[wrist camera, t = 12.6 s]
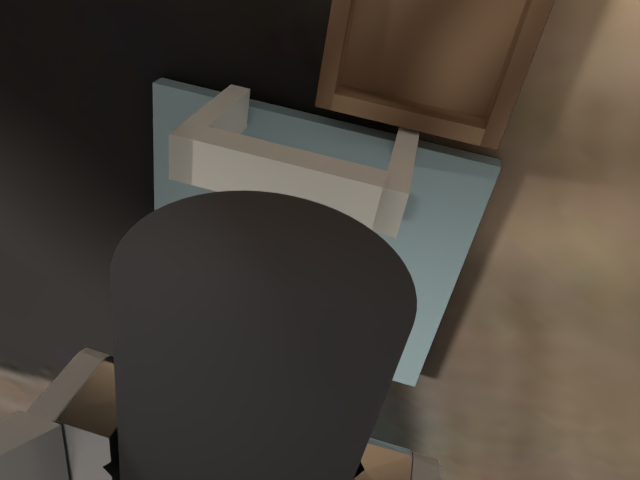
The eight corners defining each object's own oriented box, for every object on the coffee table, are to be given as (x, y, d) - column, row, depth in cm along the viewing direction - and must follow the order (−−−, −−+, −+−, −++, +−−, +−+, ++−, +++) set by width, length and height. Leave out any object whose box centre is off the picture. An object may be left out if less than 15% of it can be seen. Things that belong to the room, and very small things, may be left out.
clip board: (162, 303, 37) (141, 332, 35) (161, 77, 28) (132, 94, 26) (415, 375, 35) (412, 410, 33) (500, 159, 26) (504, 185, 24)
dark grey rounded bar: (177, 471, 14) (87, 646, 11) (193, 167, 9) (32, 322, 6) (323, 520, 14) (277, 717, 10) (426, 233, 9) (402, 439, 5)
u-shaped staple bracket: (228, 122, 27) (168, 179, 22) (230, 84, 26) (168, 133, 21) (409, 166, 26) (396, 238, 21) (420, 129, 25) (409, 194, 20)
